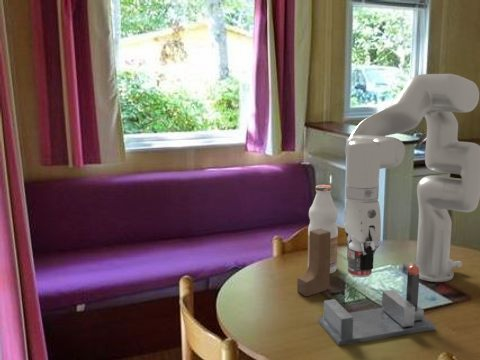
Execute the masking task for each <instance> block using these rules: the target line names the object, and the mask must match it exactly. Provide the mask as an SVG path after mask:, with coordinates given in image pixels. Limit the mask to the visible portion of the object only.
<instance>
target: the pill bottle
mask: <svg viewBox="0 0 480 360" xmlns="http://www.w3.org/2000/svg"><path fill="white" fill-rule="evenodd" d="M351 240H352V242H351V243H350V244H348V245H349V247H348V246H347V251H348V259H347V273H348V274H349V275H350V276H352V277H355V278H369V277H370V276H371V275H372V270H373V269H370V270H363V271H362V270H360V254H362V249H361V242H360V241H358V240H356V239H355V237H354V236H352V235H351ZM366 241H370V240H369V238H368V239H366ZM365 246H366V248H367V247H368V246H370V244H365Z"/></svg>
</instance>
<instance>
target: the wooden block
mask: <svg viewBox="0 0 480 360" xmlns="http://www.w3.org/2000/svg"><path fill="white" fill-rule="evenodd" d="M330 236H331V233H330V232H329V231H326V230H324V229H321V228H320V229H316V230H312V231H310V241H309V266H308V265H307V270H306V271H305V272H304V274H302V275H300V276H298V277H297V281H296V282H297V284H296V285H297V292H298V293H299V294H301V295H303V296H304V297H310V296H313V295H316V294H319V293H322V292H325V291H328V290H330V283H331V281H330V280H331V279H330V278H331V276H330V275H331V274H330ZM327 289H328V290H327ZM324 290H325V291H324Z"/></svg>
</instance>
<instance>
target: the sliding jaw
mask: <svg viewBox="0 0 480 360" xmlns="http://www.w3.org/2000/svg"><path fill="white" fill-rule="evenodd" d="M419 272H420V270H419V268H418V267H417V266H416V264H412V265H410V266H408V268H407V278H406V280H407V281H406V298H404V297H403V296H402V295H400V294H399V292H398V293H397V292H396V291H395V290H394V289H389V290H383V291H382V295H381V296H382V297H381V308H382V309H383V310H384V311H385V312H386V313H387V314H389V315H390V316H391V317H392V318H393V319H394V320H396V321H397V322H398V323H399V324H400V325H401V326H403V327H407V326H413V325H414V321H415V320H421V319H423V316H424V313H425V310H424V309H423V308H421V307H420V306H419V305H418V302H419V290H420V289H419V287H420V279H419ZM424 317H425V316H424Z"/></svg>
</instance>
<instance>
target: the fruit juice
mask: <svg viewBox="0 0 480 360" xmlns="http://www.w3.org/2000/svg"><path fill="white" fill-rule="evenodd" d="M315 191H316V194H315V197H314V199H313V201H312V204H311V206H310V207H309V208H308V209H309V210H308V218H309V224H308V227H307V229H308V230H307V267H308V266H309V241H310V231H312V230H316V229H320V228H321V229H324V230H326V231H329V232H330V233H331V236H330V275H331V274H333V273H335V272H336V271H337V269H338V238H339V230H338V225H337V219H338V214H339V213H338V209H337V207H336V205H335V203H334V200H333V197H332V194H331V192H332V186H331V185H330V184H329V185H328V184H318V185H316V186H315Z"/></svg>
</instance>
